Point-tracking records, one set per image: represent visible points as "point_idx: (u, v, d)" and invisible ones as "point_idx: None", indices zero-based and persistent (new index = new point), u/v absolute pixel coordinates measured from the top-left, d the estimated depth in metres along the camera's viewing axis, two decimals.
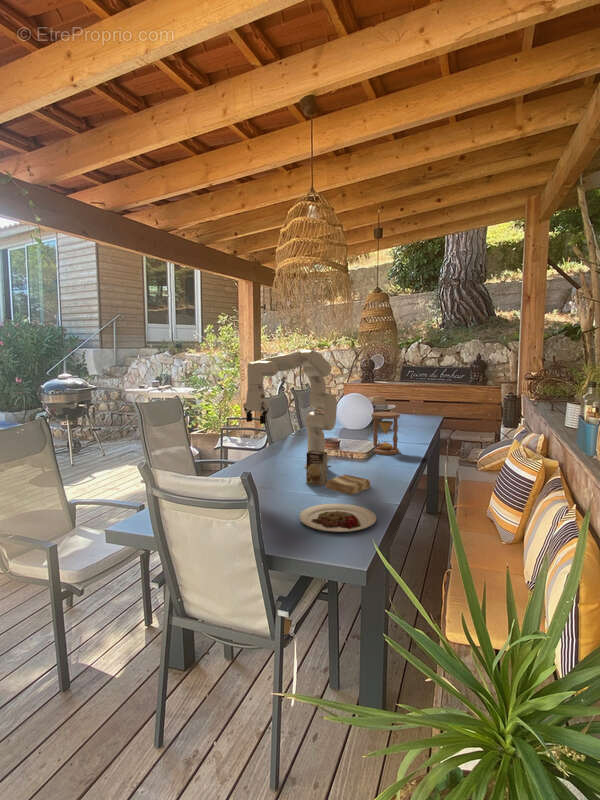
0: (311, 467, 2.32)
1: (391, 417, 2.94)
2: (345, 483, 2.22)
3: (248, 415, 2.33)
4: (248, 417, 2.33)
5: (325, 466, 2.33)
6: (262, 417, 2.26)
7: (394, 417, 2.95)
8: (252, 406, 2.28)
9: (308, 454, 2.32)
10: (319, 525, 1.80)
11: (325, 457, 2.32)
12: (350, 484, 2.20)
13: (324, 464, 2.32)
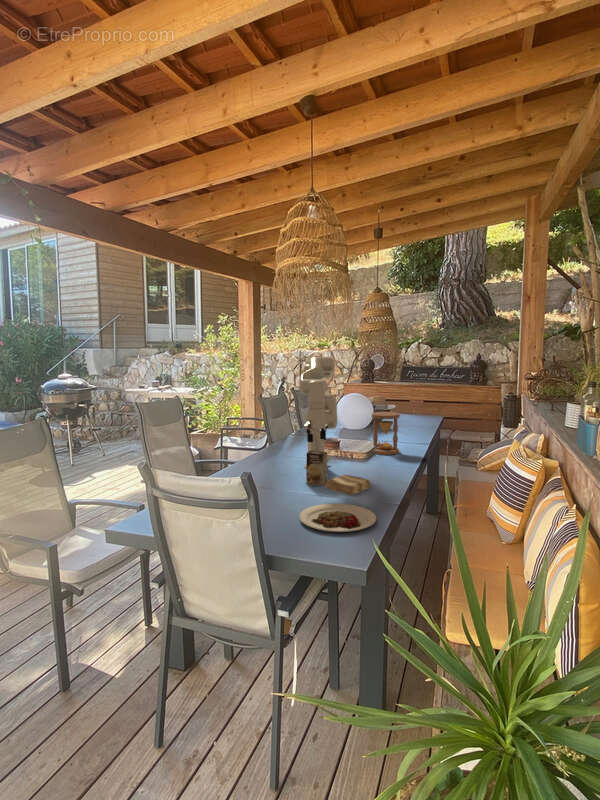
0: (311, 467, 2.32)
1: (391, 417, 2.94)
2: (345, 483, 2.22)
3: None
4: None
5: (325, 466, 2.33)
6: None
7: (394, 417, 2.95)
8: (320, 424, 2.30)
9: (308, 454, 2.32)
10: (319, 525, 1.80)
11: (325, 457, 2.32)
12: (350, 484, 2.20)
13: (324, 464, 2.32)
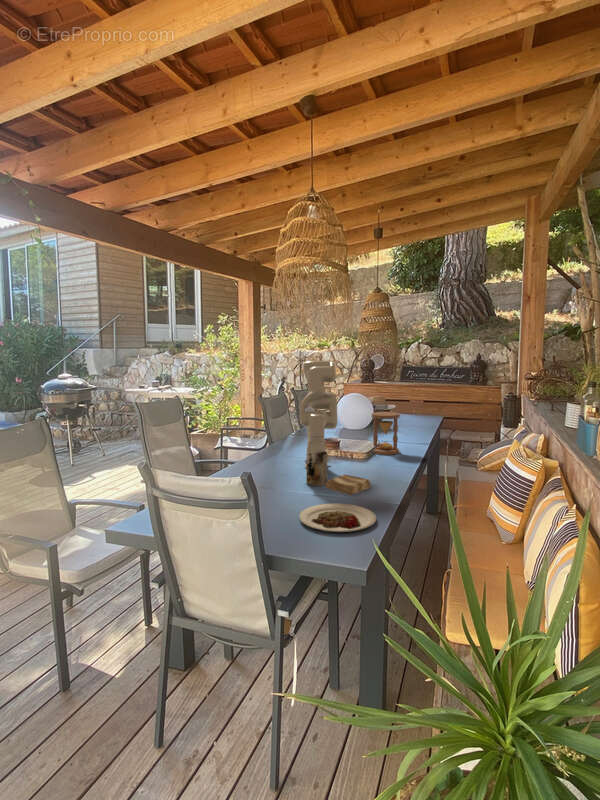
0: None
1: (391, 417, 2.94)
2: (345, 483, 2.22)
3: None
4: None
5: (325, 466, 2.33)
6: None
7: (394, 417, 2.95)
8: None
9: None
10: (319, 525, 1.80)
11: (325, 457, 2.32)
12: (350, 484, 2.20)
13: (324, 464, 2.32)
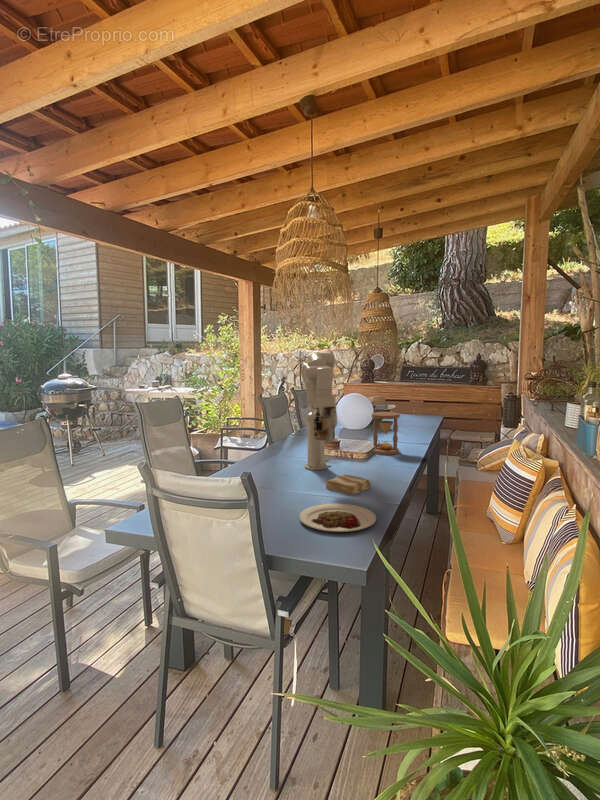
0: None
1: (391, 417, 2.94)
2: (345, 483, 2.22)
3: None
4: None
5: (333, 421, 2.28)
6: None
7: (394, 417, 2.95)
8: None
9: None
10: (319, 525, 1.80)
11: (333, 411, 2.28)
12: (350, 484, 2.20)
13: (332, 418, 2.27)
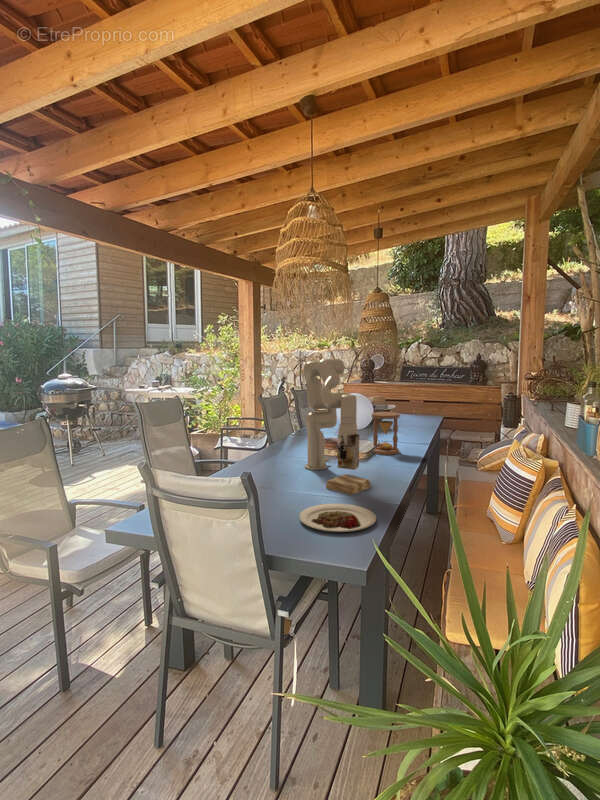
0: None
1: (391, 417, 2.94)
2: (345, 483, 2.22)
3: None
4: None
5: (357, 449, 2.24)
6: None
7: (394, 417, 2.95)
8: None
9: None
10: (319, 525, 1.80)
11: (357, 439, 2.24)
12: (350, 484, 2.20)
13: (356, 446, 2.23)
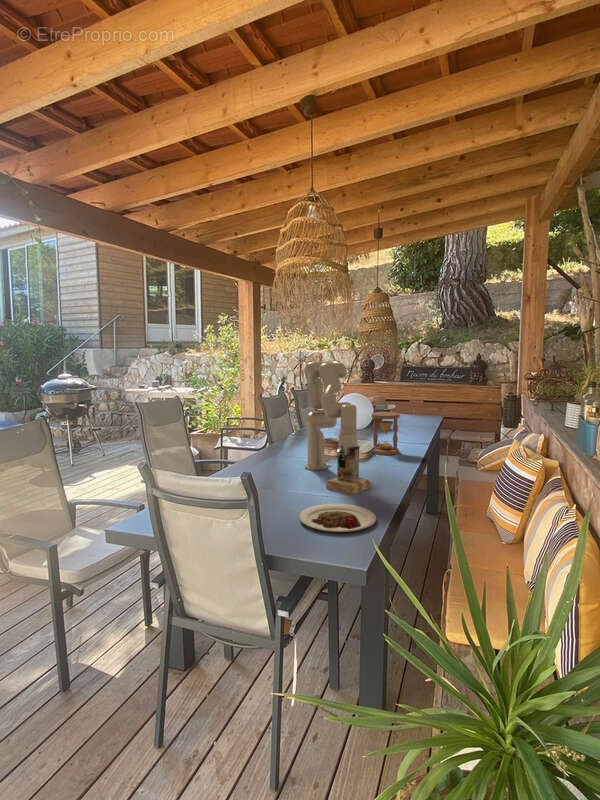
0: None
1: (391, 417, 2.94)
2: (345, 483, 2.22)
3: None
4: None
5: (357, 461, 2.25)
6: None
7: (394, 417, 2.95)
8: None
9: None
10: (319, 525, 1.80)
11: (357, 452, 2.24)
12: (350, 484, 2.20)
13: (356, 459, 2.24)
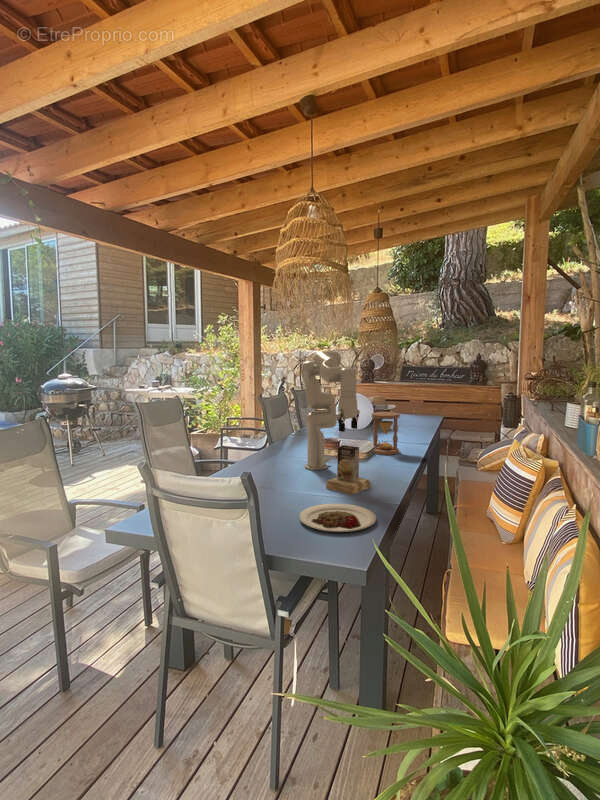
0: (342, 462, 2.25)
1: (391, 417, 2.94)
2: (345, 483, 2.22)
3: None
4: None
5: (357, 461, 2.25)
6: None
7: (394, 417, 2.95)
8: (352, 413, 2.23)
9: (339, 449, 2.25)
10: (319, 525, 1.80)
11: (357, 452, 2.24)
12: (350, 484, 2.20)
13: (356, 459, 2.24)
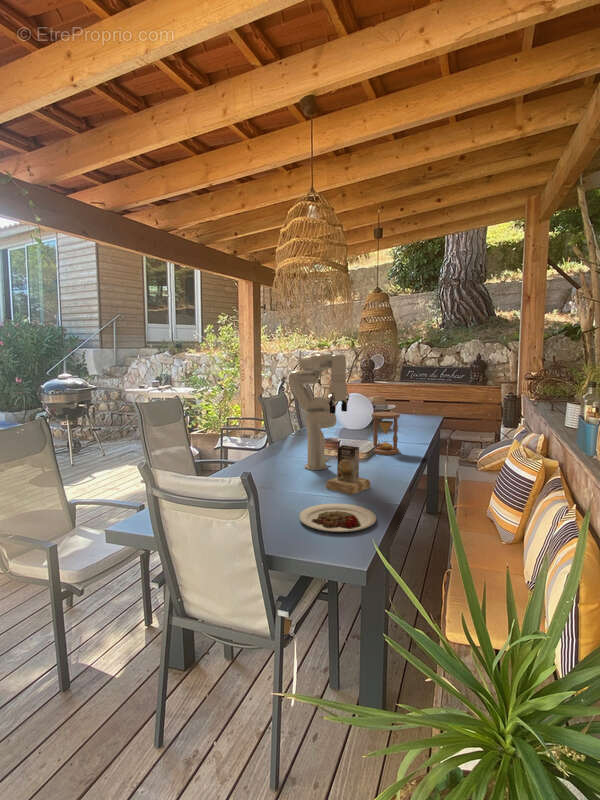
0: (342, 462, 2.25)
1: (391, 417, 2.94)
2: (345, 483, 2.22)
3: None
4: None
5: (357, 461, 2.25)
6: None
7: (394, 417, 2.95)
8: (342, 396, 2.40)
9: (339, 449, 2.25)
10: (319, 525, 1.80)
11: (357, 452, 2.24)
12: (350, 484, 2.20)
13: (356, 459, 2.24)
